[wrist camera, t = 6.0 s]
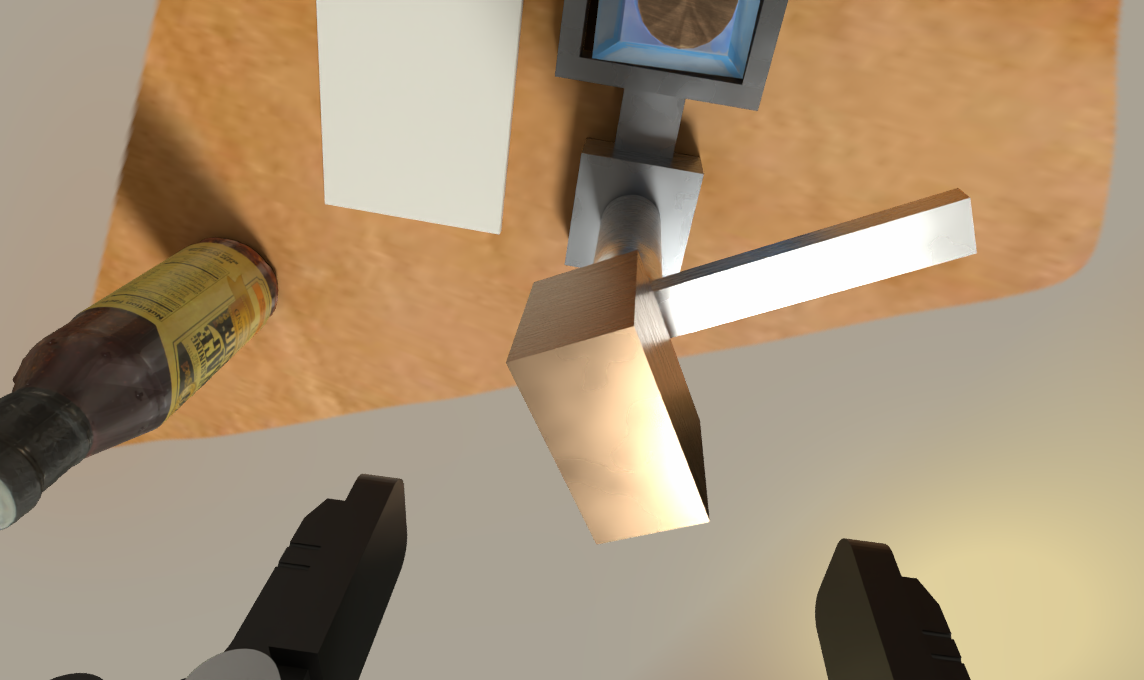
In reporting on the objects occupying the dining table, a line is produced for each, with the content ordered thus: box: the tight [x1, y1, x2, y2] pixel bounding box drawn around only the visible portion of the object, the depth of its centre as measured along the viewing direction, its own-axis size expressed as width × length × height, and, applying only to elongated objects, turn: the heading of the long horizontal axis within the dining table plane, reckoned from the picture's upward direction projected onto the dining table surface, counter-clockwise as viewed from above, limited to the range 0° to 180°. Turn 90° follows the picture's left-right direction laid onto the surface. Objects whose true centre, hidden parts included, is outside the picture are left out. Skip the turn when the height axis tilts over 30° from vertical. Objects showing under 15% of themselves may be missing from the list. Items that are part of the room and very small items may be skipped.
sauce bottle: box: [0, 237, 278, 530], centre depth 34 cm, size 7×6×20 cm
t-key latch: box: [506, 188, 977, 544], centre depth 26 cm, size 14×7×18 cm, turn 111°
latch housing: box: [555, 0, 788, 277], centre depth 33 cm, size 19×10×3 cm, turn 172°
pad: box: [316, 0, 523, 234], centre depth 36 cm, size 12×10×1 cm
